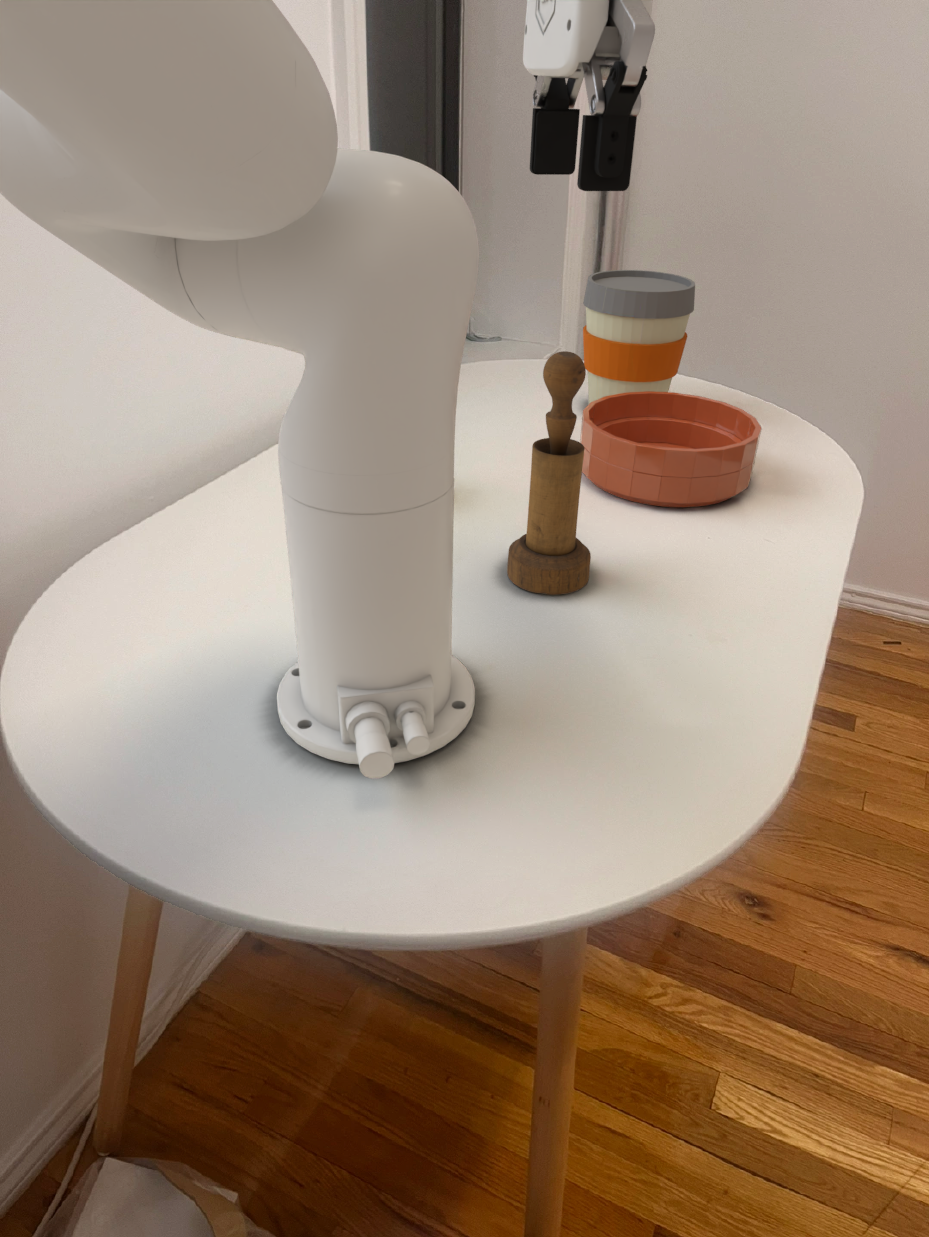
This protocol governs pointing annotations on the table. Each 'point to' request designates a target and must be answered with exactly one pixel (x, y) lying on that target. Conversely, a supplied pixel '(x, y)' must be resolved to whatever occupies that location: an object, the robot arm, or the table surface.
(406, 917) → the table surface
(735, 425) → the bowl
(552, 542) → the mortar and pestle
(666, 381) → the reusable coffee cup
